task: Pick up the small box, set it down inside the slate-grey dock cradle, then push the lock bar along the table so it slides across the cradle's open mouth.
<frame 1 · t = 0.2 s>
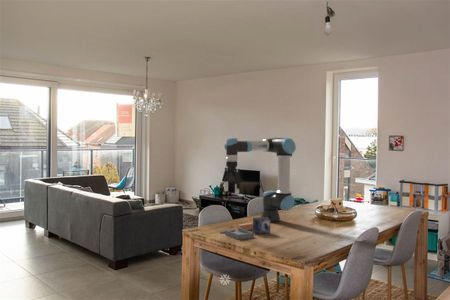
hand: (231, 192, 264), 27 cm above the table, fingers open, 13 cm apart
small box: (261, 233, 263), on the table
lock bar: (246, 226, 272), point 2 cm above the table, slide at 0.0 cm
dock: (238, 236, 256), on the table
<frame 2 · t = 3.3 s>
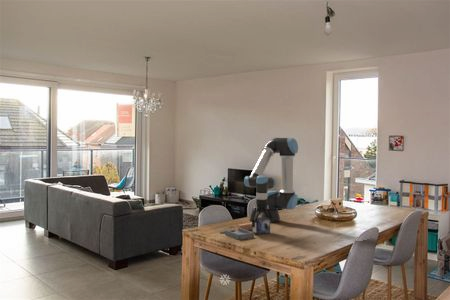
hand: (261, 230, 263), 2 cm above the table, fingers closed on small box, 11 cm apart
small box: (261, 233, 263), on the table, touching gripper
everything else where it was.
when the fingers open (5 cm above the table, at t = 9.6 s): small box stays where it is, resting on dock.
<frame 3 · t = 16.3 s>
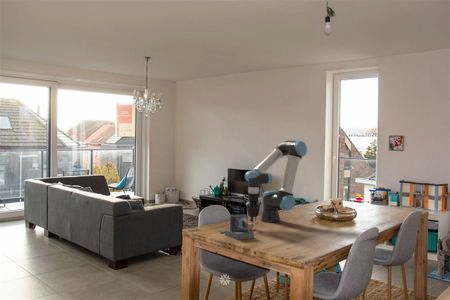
hand: (253, 226, 276), 2 cm above the table, fingers closed
small box: (238, 231, 256), point 3 cm above the table, touching dock
lock bar: (245, 227, 271), point 2 cm above the table, slide at 1.2 cm, touching gripper
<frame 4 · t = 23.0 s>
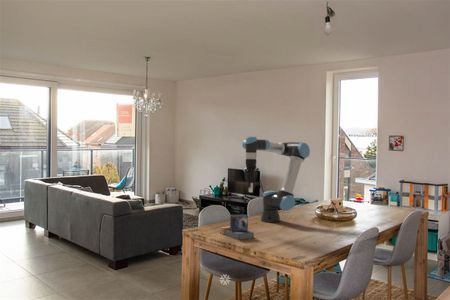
hand: (250, 192, 273), 26 cm above the table, fingers closed
lock bar: (230, 229, 264), point 2 cm above the table, slide at 14.2 cm
everything else where it was.
at the end: small box inside the target area on the dock (0.0 cm from its centre), point 3.0 cm above the dock's base; small box tilted 0°; lock bar slide at 14.2 cm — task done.
